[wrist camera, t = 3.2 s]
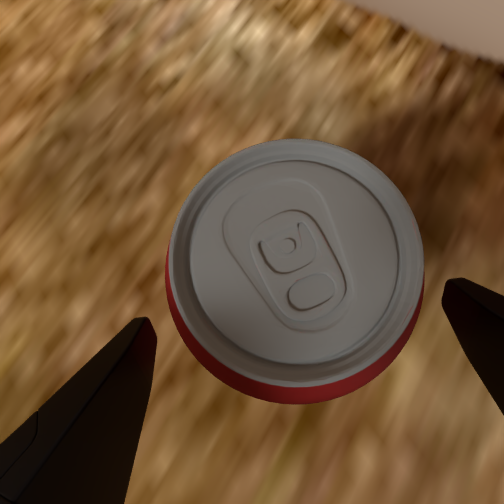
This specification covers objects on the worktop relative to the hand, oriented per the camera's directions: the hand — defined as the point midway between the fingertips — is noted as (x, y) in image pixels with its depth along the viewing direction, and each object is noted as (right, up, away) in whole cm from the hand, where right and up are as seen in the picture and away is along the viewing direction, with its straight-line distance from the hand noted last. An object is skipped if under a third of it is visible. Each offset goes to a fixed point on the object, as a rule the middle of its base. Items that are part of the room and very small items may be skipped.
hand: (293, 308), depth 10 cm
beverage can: (+1, -1, +9) cm, 9 cm away
